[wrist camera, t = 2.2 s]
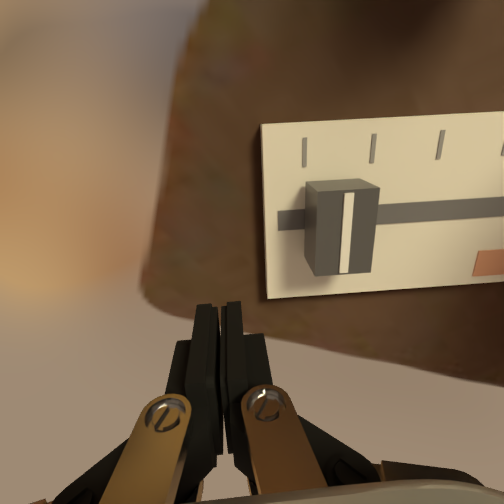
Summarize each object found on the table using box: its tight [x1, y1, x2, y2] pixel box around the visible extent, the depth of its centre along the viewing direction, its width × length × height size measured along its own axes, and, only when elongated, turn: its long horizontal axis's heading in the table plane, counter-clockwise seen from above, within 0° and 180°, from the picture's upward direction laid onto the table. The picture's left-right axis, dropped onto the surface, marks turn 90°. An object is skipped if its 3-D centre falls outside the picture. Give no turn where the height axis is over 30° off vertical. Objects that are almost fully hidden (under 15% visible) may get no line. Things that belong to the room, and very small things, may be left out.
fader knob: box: [304, 178, 380, 277], centre depth 22 cm, size 4×6×4 cm, turn 3°
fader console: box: [260, 111, 504, 299], centre depth 25 cm, size 26×14×2 cm, turn 93°
